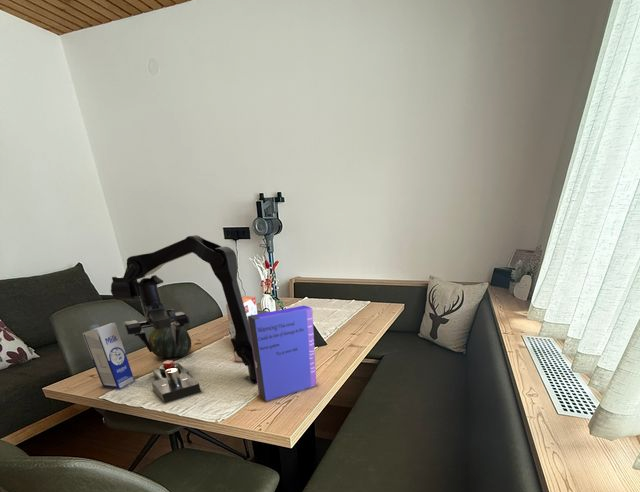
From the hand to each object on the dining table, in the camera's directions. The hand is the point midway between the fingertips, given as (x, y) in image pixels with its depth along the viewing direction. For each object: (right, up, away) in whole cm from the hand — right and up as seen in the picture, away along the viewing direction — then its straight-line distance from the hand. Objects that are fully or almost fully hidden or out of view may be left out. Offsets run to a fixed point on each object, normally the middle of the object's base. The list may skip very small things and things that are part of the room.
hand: (164, 348), depth 117 cm
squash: (-7, +2, +24) cm, 25 cm away
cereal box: (+42, -15, -7) cm, 45 cm away
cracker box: (+24, +1, +21) cm, 31 cm away
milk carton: (-16, -12, +2) cm, 20 cm away
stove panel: (+6, -14, -5) cm, 16 cm away
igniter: (0, -5, +4) cm, 7 cm away
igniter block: (0, -9, +5) cm, 10 cm away
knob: (+6, -12, -7) cm, 15 cm away
